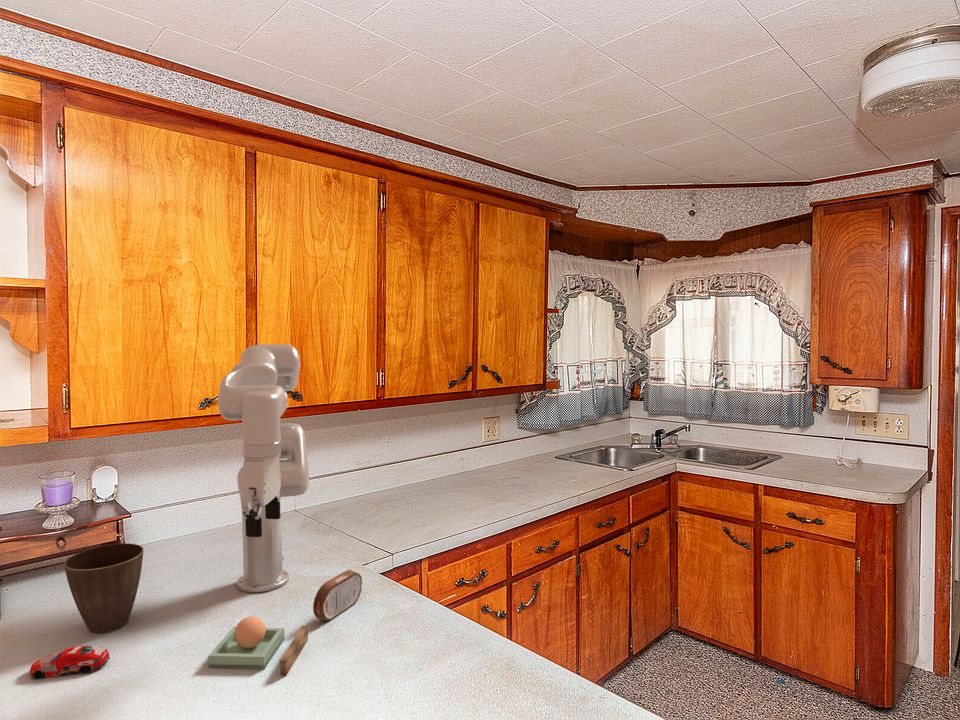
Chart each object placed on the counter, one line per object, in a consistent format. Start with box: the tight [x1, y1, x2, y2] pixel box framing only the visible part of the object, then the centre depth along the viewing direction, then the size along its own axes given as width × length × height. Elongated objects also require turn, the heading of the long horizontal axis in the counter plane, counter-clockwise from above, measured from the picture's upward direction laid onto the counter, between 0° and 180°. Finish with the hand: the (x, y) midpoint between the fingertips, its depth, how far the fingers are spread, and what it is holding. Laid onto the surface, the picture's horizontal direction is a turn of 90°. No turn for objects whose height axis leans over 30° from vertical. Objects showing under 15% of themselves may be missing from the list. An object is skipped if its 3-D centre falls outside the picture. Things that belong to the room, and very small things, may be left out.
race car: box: [29, 645, 111, 681], centre depth 117 cm, size 13×5×4 cm, turn 102°
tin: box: [312, 569, 363, 621], centre depth 139 cm, size 15×3×8 cm, turn 154°
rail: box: [279, 625, 309, 677], centre depth 121 cm, size 13×1×3 cm, turn 178°
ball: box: [234, 615, 266, 648], centre depth 123 cm, size 6×6×6 cm
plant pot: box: [63, 543, 145, 635], centre depth 133 cm, size 15×15×16 cm
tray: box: [207, 626, 285, 670], centre depth 122 cm, size 11×11×2 cm
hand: (263, 527), depth 128 cm, fingers open, 9 cm apart
